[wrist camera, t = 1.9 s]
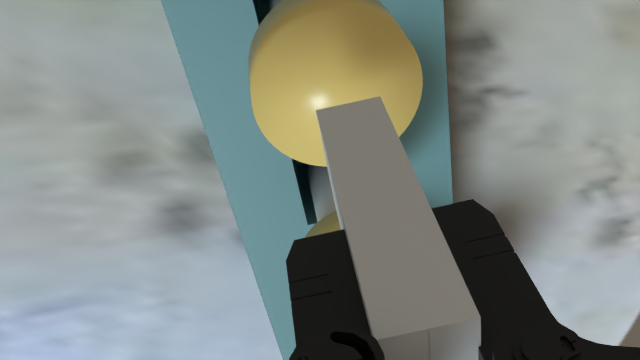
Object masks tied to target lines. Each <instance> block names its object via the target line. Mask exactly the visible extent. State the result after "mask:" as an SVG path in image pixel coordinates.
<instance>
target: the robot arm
mask: <svg viewBox="0 0 640 360" xmlns="http://www.w3.org/2000/svg"><path fill="white" fill-rule="evenodd" d="M316 114H317V119H318V124H319V129H320V134H321V139H322V144H323V149H324V154H325V159H326V164H327V169H328V174H329V179H330V183H331V188H332V193H333V198H334V203H335V207H336V211H337V215H338V219H339V223H340V228H341V230H338V231H333V232H329V233H324V234H319V235H315V236H310V237H306V238H301V239H297V240H294V242H293V244H292V247H291V249H290V252H289V254H288V257H287V259H286V267H287V275H288V283H289V291H290V300H291V308H292V316H293V325H294V333H295V341H296V347H295V349H294V351H293V353H292V354H291V356H290V358H289V360H640V348H637V347H623V346H611V345H604V344H598V343H594V342H591V341H589V340H586V339H583V338H581V337H579V336H578V335H577V334H576V333H575V332H574V331H572V330H570V329H568V328H567V327H565V326H563V325H561V324H560V323H559V322H558V321H557V320H556V319H555V317H554V316H553V315H552V314H551V312H550V311H549V309H548V307H547V305H546V304H545V302H544V300H543V299H542V297H541V295H540V293H539V292H538V290H537V288H536V287H535V285H534V283H533V281H532V280H531V278H530V276H529V275H528V273H527V271H526V269H525V268H524V266H523V264H522V263H521V261H520V259H519V257H518V256H517V254H516V253H514V249H513V247H512V246H511V244H510V242H509V240H508V239H507V237H505V235H504V232H503V230H502V228H501V227H500V225H499V223H498V222H497V220H496V218H495V216H494V215H493V214H492V213H491V212H490V211H488V210H487V209H485V208H484V207H483V206H481V205H480V204H478V203H477V202H476V201H474V200H473V199H472V200H467V201H463V202H458V203H454V204H449V205H445V206H440V207H435V208H431V207H430V205H429V203H428V200H427V198H426V196H425V194H424V192H423V189H422V187H421V185H420V183H419V181H418V178H417V176H416V174H415V172H414V170H413V167H412V165H411V163H410V161H409V159H408V156H407V154H406V152H405V150H404V148H403V145H402V143H401V141H400V139H399V137H398V134H397V132H396V130H395V128H394V126H393V123H392V121H391V119H390V117H389V115H388V113H387V110H386V108H385V106H384V104H383V102H382V99H381V97H380V96H379V97H374V98H370V99H365V100H360V101H356V102H351V103H347V104H342V105H337V106H333V107H328V108H324V109H319V110H316Z"/></svg>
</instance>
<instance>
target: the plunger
mask: <svg viewBox="0 0 640 360" xmlns="http://www.w3.org/2000/svg"><path fill="white" fill-rule="evenodd" d="M269 9H270V12H269V13H268V14H267V15H266V17H265V18H264V19H263V21H262V22H261V23H260V25H259V27H258V29H257V30H256V32H255V34H254V37H253V40H252V42H251V46H250V50H249V58H248V72H249V82H250V93H251V103H252V109H253V114H254V116H255V119H256V122H257V124H258V126H259V128H260V130H261V132H262V133H263V134H264V136H265V137H266V139H267V140H268V141H269V142H270V143H271V144H272V145H273V146H274V147H275V148H276V149H278V150H279V151H280V152H282V153H283V154H285V155H287V156H288V157H290V158H292V159H295V160H297V161H299V162H302V163H306V164H309V165H315V166H325V167H327V164H326V159H325V154H324V149H323V144H322V139H321V134H320V129H319V124H318V119H317V114H316V110H319V109H324V108H328V107H333V106H337V105H342V104H347V103H351V102H356V101H360V100H365V99H370V98H374V97H379V96H380V97H381V99H382V102H383V104H384V106H385V108H386V110H387V113H388V115H389V117H390V119H391V121H392V123H393V126H394V128H395V130H396V132H397V134H398V137H400V135H401V134H402V133H403V132H404V131H405V130H406V128H407V127H408V126H409V124H410V122H411V121H412V119H413V117H414V116H415V113H416V111H417V108H418V106H419V103H420V99H421V95H422V87H423V75H422V69H421V64H420V61H419V57H418V55H417V53H416V51H415V49H414V47H413V45H412V44H411V42H410V41H409V39H408V38H407V36H406V35H405V33H404V32H403V30H402V29H401V27H400V26H399V24H398V23H397V21H396V20H395V18H394V17H393V15H392V14H391V13H390V11H389V10H388V9H387V8H386V7H385V6H384V5H383V4H382V3H381V2H379V1H378V0H269Z"/></svg>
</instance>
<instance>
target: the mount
mask: <svg viewBox="0 0 640 360" xmlns="http://www.w3.org/2000/svg"><path fill="white" fill-rule="evenodd" d="M378 1H379V2H381V3H382V4H383V5H384V6H385V7H386V8H387V9H388V10H389V11H390V13H391V14H392V15H393V17H394V18H395V20H396V21H397V23H398V24H399V26H400V27H401V29H402V30H403V32H404V33H405V35H406V36H407V38H408V39H409V41H410V42H411V44H412V45H413V47H414V49H415V51H416V53H417V55H418V57H419V61H420V64H421V69H422V75H423V87H422V95H421V99H420V103H419V106H418V108H417V111H416V113H415V116H414V117H413V119H412V121H411V122H410V124H409V126H408V127H407V128H406V130H405V131H404V132H403V133H402V134H401V135H400V137H399V139H400V141H401V143H402V145H403V148H404V150H405V152H406V154H407V156H408V159H409V161H410V163H411V165H412V167H413V170H414V172H415V174H416V176H417V178H418V181H419V183H420V185H421V187H422V189H423V192H424V194H425V196H426V198H427V200H428V203H429V205H430V207H431V208H435V207H440V206H445V205H449V204H453V193H452V172H451V151H450V130H449V109H448V88H447V67H446V46H445V25H444V4H443V0H378ZM161 2H162V5H163V8H164V11H165V14H166V17H167V20H168V22H169V25H170V28H171V31H172V34H173V37H174V40H175V43H176V46H177V49H178V52H179V55H180V58H181V61H182V64H183V67H184V69H185V72H186V75H187V78H188V81H189V84H190V87H191V90H192V93H193V96H194V99H195V102H196V105H197V108H198V111H199V114H200V117H201V119H202V122H203V125H204V128H205V131H206V134H207V137H208V140H209V143H210V146H211V149H212V152H213V155H214V158H215V161H216V164H217V166H218V169H219V172H220V175H221V178H222V181H223V184H224V187H225V190H226V193H227V196H228V199H229V202H230V205H231V208H232V211H233V214H234V216H235V219H236V222H237V225H238V228H239V231H240V234H241V237H242V240H243V243H244V246H245V249H246V252H247V255H248V258H249V261H250V263H251V266H252V269H253V272H254V275H255V278H256V281H257V284H258V287H259V290H260V293H261V296H262V299H263V302H264V305H265V308H266V311H267V313H268V316H269V319H270V322H271V325H272V328H273V331H274V334H275V337H276V340H277V343H278V346H279V349H280V352H281V355H282V358H283V360H289V358H290V356H291V354H292V353H293V351H294V349H295V347H296V341H295V333H294V325H293V316H292V308H291V300H290V291H289V283H288V275H287V267H286V259H287V257H288V254H289V252H290V249H291V247H292V244H293V242H294V240H297V239H301V238H305V236H306V235H307V233H308V232H309V231H310V229H311V228H312V227H313V226H314V225H315V224H316V223H317V217H316V212H315V208H314V203H313V198H312V194H311V189H310V184H309V180H308V168H309V164H306V163H302V162H299V161H297V160H295V159H292V158H290V157H288V156H287V155H285V154H283V153H282V152H280V151H279V150H278V149H276V148H275V147H274V146H273V145H272V144H271V143H270V142H269V141H268V140H267V139H266V137H265V136H264V134H263V133H262V132H261V130H260V128H259V126H258V124H257V122H256V119H255V116H254V114H253V109H252V103H251V93H250V82H249V72H248V58H249V50H250V46H251V42H252V40H253V37H254V34H255V32H256V30H257V29H258V27H259V25H260V23H261V22H262V21H263V19H264V18H265V17H266V15H267V14H268V13H269V12H270V9H269V0H161Z"/></svg>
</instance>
